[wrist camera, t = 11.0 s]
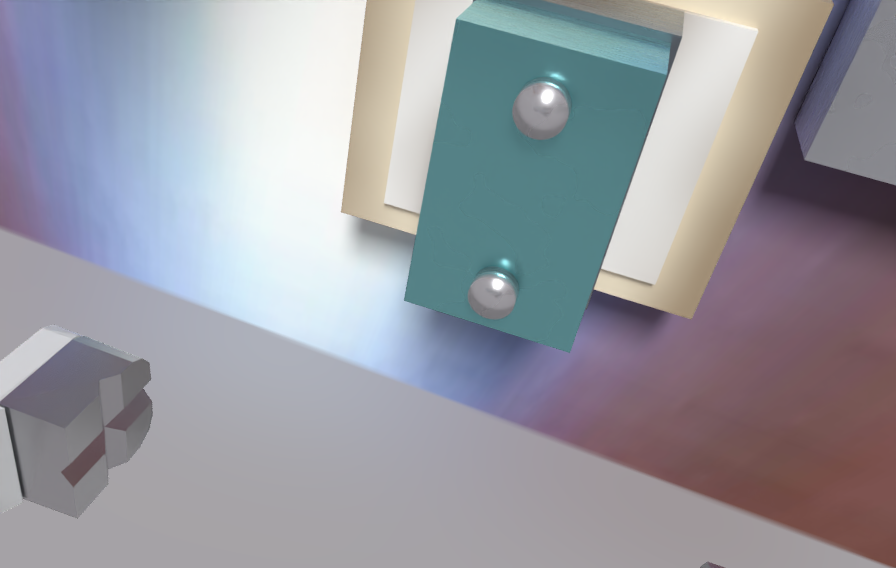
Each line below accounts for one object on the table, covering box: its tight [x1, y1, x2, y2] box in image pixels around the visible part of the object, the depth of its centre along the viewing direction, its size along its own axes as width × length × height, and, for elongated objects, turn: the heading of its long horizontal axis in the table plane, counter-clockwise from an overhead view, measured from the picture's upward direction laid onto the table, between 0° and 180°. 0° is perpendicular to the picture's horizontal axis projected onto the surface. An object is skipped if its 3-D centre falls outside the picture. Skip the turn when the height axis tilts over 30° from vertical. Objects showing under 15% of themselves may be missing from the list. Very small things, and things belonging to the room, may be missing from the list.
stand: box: [341, 0, 834, 319], centre depth 24 cm, size 12×10×3 cm
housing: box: [404, 0, 685, 353], centre depth 21 cm, size 5×8×6 cm, turn 169°
